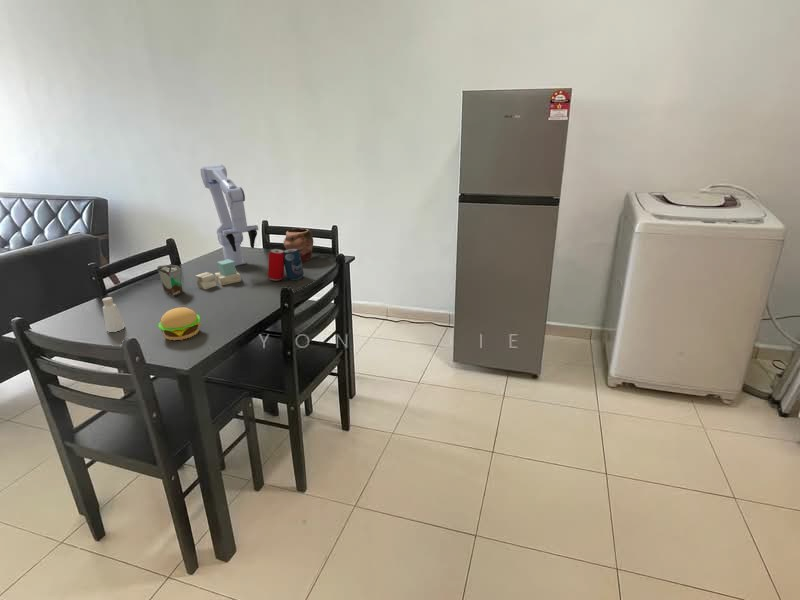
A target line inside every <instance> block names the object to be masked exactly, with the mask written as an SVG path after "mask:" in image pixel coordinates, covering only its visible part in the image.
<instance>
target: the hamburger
mask: <svg viewBox="0 0 800 600" xmlns="http://www.w3.org/2000/svg"><path fill="white" fill-rule="evenodd" d="M201 324H202V323H201V317H200V315H199V314H197V313H196V312H195V311H194V310H193V309H191V308H190V307H189V308H188V307H184V306H183V307H176V308H175V307H174V308H172V309H169V310H167V311H166V312H165V313H164V314H162V317H161V318H160V322H159V323H158V328H159V329H160V332H161V333H163V336H164V337H165V338H166V339H167V340H169V341H171V340H174V342H176V341H175V340H181V341H184V340H183V339H186V340H188V339H187V338H189V339H191V338H193V337H195V336H196V335H197V334H198V333H199V331H200V326H201ZM194 335H195V336H194ZM192 336H193V337H192ZM190 337H191V338H190Z"/></svg>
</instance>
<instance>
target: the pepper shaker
mask: <svg viewBox="0 0 800 600" xmlns="http://www.w3.org/2000/svg"><path fill="white" fill-rule="evenodd" d="M101 301H102V303H103V306H102V312H103V313H102V314H103V318H104V325H105V331H106V332H107V331H109V332H113V331H118V330H121V329H123V328H124V327H125V328H126V325H125V322H124V319H123V318H122V315H121V313H120V311H119V309H118V306H117V303H114V300H113V297H111V296H109V297H108V296H107V297H104V298H102V300H101ZM109 332H108V333H109Z"/></svg>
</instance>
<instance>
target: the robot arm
mask: <svg viewBox="0 0 800 600" xmlns="http://www.w3.org/2000/svg"><path fill="white" fill-rule="evenodd" d="M200 176H201V179H202V184H203V186H204V188H206V189H208V190H209V192H210V194H211V197H212V200H213V202H214V207H215V209H216V213H217V216H218V219H219V222H220V225H219V226H218V227H217V228H216V234H217V240H218V243H219V245H220V246H222V253H223V260H227V259H230V260H232V261H234V263H235V267H236V266H240V265H245V264H247V262H246V260H244V259H243V253H242V248H241V245H242V243H243V241H244V234H243V233H247V234H248V238H249V239H248V240H249V244H250V248H251V249H255V242H256V239H257V236H258V231H259V226H258V225H257V224H255V225H248V222H247V217H246V216H247V214H246V210H245V205H244V204H245V203H244V202H245V201H246V195H245V192H244V189H243V187H242V186H240V187H239V186H237V185H236V183H234V181H233V180H232V179H230V178H228V172H227V168H226V167H225V165H224V164H220V165H208V166H201V168H200ZM228 208H229V209H228Z"/></svg>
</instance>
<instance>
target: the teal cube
mask: <svg viewBox="0 0 800 600" xmlns="http://www.w3.org/2000/svg"><path fill="white" fill-rule="evenodd" d="M217 267H218V272H219V273H220V274H221V275H223V276H227V275H231V274H235V273H236V271H237V269H236V266H235V263H234V261H232V260H230V259H227V260H224V259H223V260H219V261H217Z"/></svg>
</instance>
